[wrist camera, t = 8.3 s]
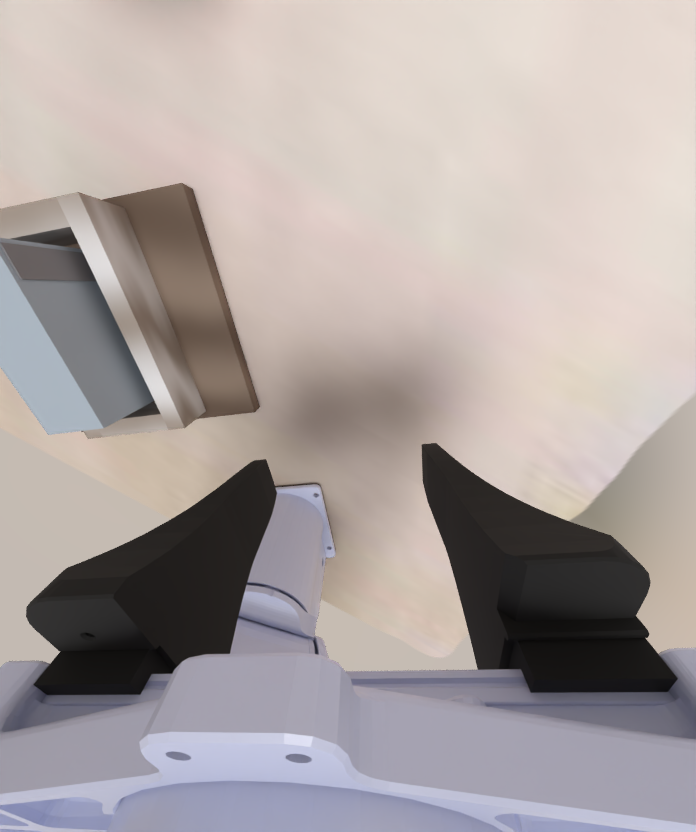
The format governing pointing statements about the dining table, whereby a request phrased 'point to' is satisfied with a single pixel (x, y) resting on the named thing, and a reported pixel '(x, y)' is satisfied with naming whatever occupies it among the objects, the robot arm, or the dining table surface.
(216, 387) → the post base
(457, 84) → the dining table surface
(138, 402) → the blue-grey block
